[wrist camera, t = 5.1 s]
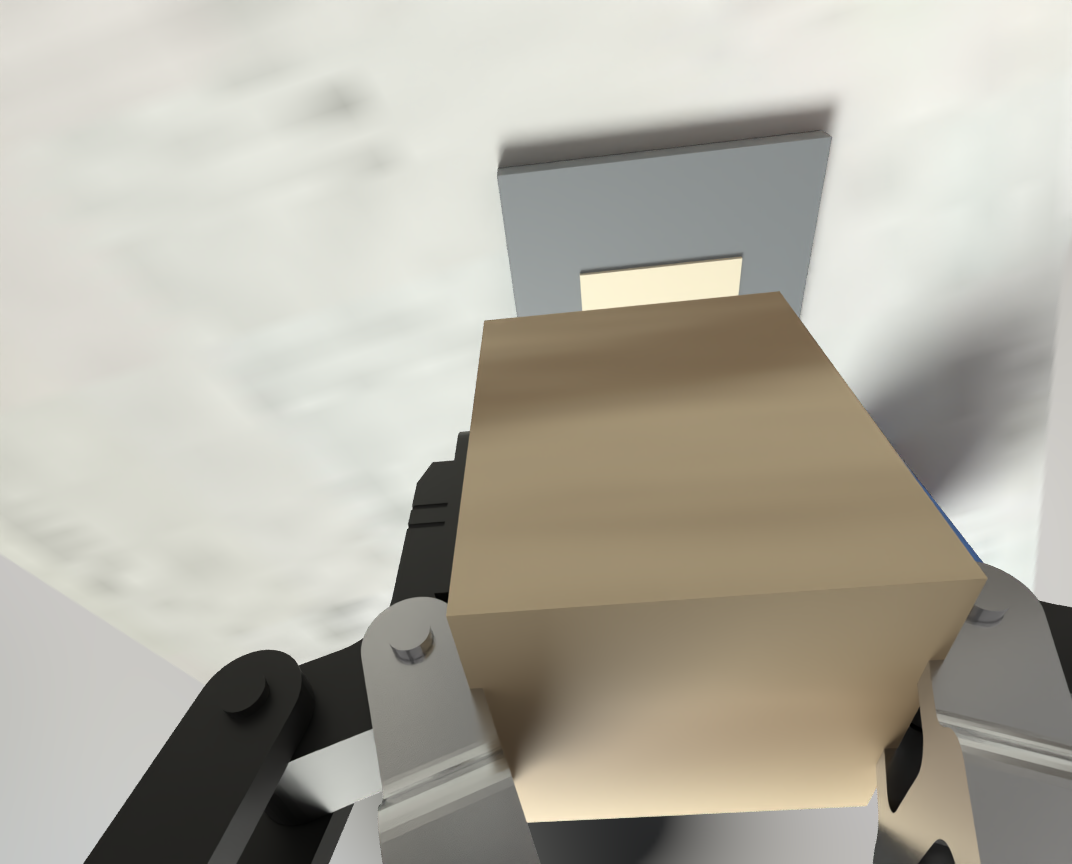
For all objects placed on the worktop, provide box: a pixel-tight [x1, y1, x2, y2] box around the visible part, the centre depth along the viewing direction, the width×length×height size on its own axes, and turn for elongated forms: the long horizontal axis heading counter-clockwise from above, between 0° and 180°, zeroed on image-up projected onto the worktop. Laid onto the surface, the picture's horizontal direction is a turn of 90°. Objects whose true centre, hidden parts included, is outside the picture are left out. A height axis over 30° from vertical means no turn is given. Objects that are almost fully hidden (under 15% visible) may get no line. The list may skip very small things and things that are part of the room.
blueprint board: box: [497, 130, 832, 317], centre depth 29 cm, size 16×13×1 cm
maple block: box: [446, 291, 988, 822], centre depth 10 cm, size 5×5×6 cm
